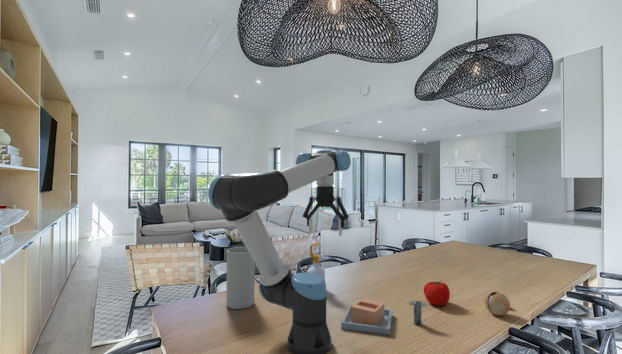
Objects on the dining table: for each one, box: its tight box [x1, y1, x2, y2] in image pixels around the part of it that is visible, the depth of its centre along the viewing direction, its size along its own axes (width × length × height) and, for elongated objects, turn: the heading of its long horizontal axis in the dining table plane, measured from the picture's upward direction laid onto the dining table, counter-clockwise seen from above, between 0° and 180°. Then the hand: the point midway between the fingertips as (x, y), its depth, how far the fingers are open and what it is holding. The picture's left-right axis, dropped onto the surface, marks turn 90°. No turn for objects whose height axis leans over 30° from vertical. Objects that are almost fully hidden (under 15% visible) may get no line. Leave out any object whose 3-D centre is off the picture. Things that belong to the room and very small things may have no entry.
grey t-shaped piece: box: [409, 300, 427, 326], centre depth 123 cm, size 3×6×8 cm, turn 73°
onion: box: [484, 291, 517, 317], centre depth 131 cm, size 9×9×15 cm
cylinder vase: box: [225, 246, 255, 310], centre depth 143 cm, size 12×12×25 cm
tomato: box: [423, 279, 451, 307], centre depth 143 cm, size 11×13×10 cm
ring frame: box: [351, 298, 385, 326], centre depth 124 cm, size 10×12×6 cm
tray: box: [340, 304, 393, 336], centre depth 125 cm, size 18×18×2 cm
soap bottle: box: [307, 242, 326, 281], centre depth 162 cm, size 9×9×25 cm
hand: (325, 234), depth 136 cm, fingers open, 13 cm apart
